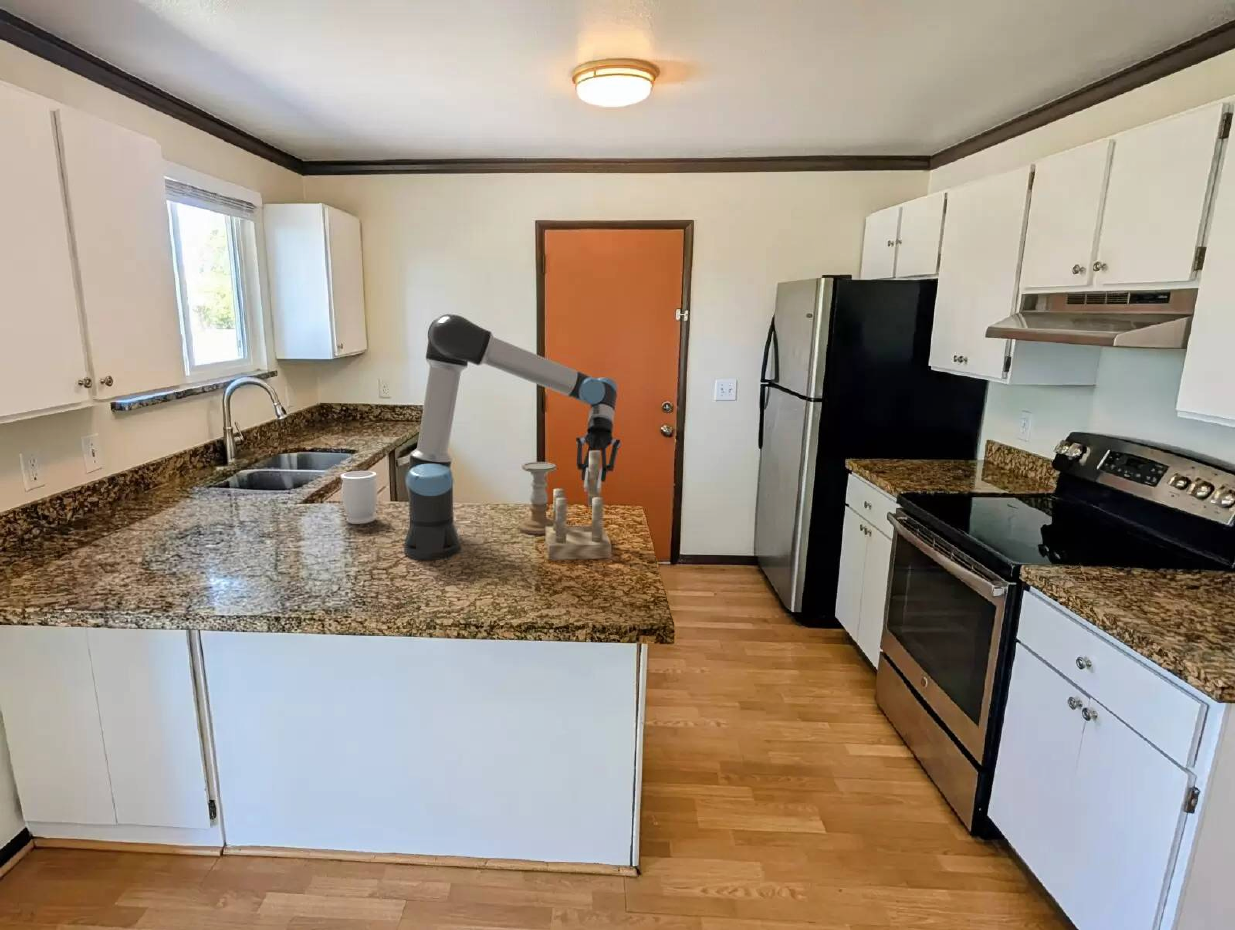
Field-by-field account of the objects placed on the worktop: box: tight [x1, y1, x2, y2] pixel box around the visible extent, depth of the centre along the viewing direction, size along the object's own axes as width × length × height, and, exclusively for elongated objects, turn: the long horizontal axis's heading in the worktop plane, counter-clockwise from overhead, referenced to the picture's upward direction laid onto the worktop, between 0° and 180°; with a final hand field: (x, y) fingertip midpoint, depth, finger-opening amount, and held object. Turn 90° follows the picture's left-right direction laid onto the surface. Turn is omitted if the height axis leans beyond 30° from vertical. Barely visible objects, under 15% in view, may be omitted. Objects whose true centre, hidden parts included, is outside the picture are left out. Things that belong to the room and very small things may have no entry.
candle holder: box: [518, 461, 557, 535], centre depth 204 cm, size 12×12×20 cm
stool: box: [544, 488, 612, 561], centre depth 188 cm, size 17×17×16 cm
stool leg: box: [587, 450, 601, 508], centre depth 191 cm, size 3×3×16 cm
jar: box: [340, 470, 378, 525], centre depth 207 cm, size 11×10×15 cm
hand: (592, 489), depth 188 cm, fingers closed on stool leg, 3 cm apart
